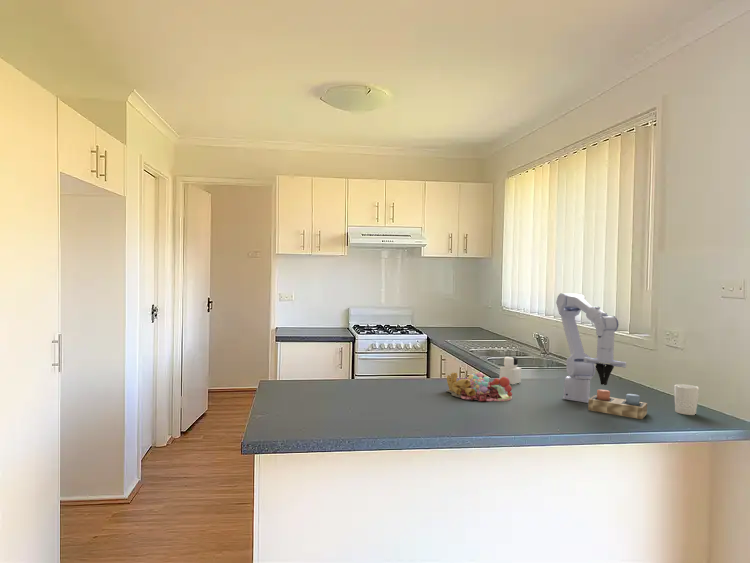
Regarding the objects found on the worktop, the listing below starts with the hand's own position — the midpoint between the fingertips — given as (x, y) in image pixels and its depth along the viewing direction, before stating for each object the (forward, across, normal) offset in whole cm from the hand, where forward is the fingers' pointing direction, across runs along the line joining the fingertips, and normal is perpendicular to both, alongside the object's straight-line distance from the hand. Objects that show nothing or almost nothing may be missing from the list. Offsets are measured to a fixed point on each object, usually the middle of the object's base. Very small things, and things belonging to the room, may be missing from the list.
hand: (603, 384), depth 194 cm
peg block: (+9, +5, 0) cm, 11 cm away
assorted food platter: (+10, -45, -12) cm, 48 cm away
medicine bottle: (+10, -45, +22) cm, 51 cm away
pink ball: (+6, 0, 0) cm, 6 cm away
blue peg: (+6, +10, 0) cm, 12 cm away
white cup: (+10, +25, +18) cm, 32 cm away
